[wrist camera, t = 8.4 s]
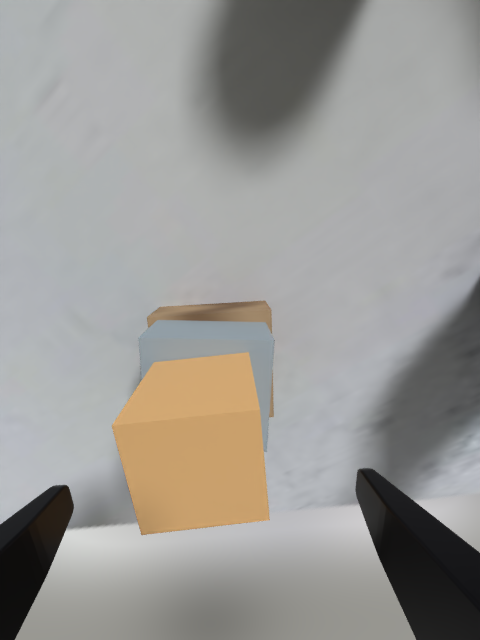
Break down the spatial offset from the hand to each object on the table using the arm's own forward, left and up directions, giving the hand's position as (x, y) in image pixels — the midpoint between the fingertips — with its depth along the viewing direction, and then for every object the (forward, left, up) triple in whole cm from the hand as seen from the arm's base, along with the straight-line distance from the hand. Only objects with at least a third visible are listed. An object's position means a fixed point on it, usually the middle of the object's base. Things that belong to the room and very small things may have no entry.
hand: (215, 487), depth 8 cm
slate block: (+1, +1, -10) cm, 10 cm away
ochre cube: (+1, +1, -6) cm, 6 cm away
